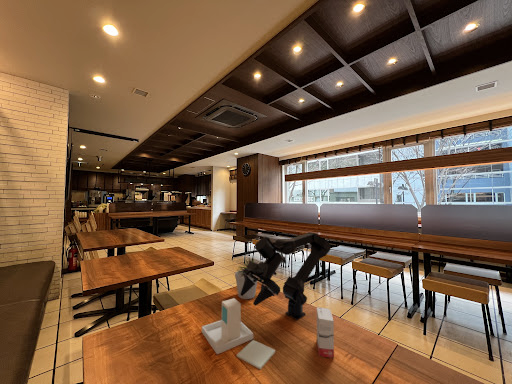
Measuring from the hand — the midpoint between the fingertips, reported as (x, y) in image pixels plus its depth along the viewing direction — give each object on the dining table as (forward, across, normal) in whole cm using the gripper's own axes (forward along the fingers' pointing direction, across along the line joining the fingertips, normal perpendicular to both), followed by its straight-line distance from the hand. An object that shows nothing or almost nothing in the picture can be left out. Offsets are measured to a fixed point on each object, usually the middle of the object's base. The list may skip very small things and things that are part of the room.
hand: (247, 299), depth 80 cm
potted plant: (-3, -27, +22) cm, 35 cm away
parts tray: (+14, -3, +4) cm, 15 cm away
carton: (+14, 0, +4) cm, 14 cm away
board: (+11, +11, +7) cm, 17 cm away
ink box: (-4, +21, +22) cm, 31 cm away
